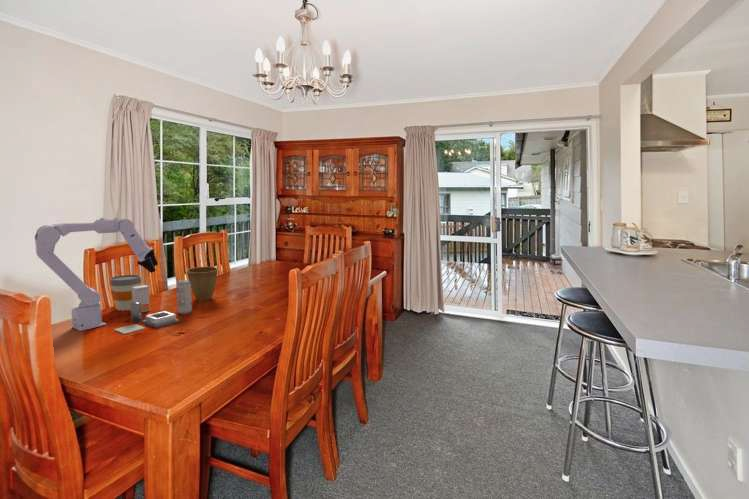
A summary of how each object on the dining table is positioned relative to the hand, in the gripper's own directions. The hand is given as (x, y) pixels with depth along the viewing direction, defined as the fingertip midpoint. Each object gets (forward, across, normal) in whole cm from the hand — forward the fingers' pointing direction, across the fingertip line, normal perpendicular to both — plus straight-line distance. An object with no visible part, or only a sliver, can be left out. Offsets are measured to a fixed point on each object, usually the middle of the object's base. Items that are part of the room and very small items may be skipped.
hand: (154, 268), depth 174 cm
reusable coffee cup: (+15, +10, +24) cm, 30 cm away
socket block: (+18, -17, +5) cm, 25 cm away
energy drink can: (+24, -6, -1) cm, 24 cm away
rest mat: (+12, -24, +14) cm, 30 cm away
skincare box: (+17, +2, +16) cm, 24 cm away
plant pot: (+31, +16, -6) cm, 36 cm away
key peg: (+14, -12, +14) cm, 24 cm away
